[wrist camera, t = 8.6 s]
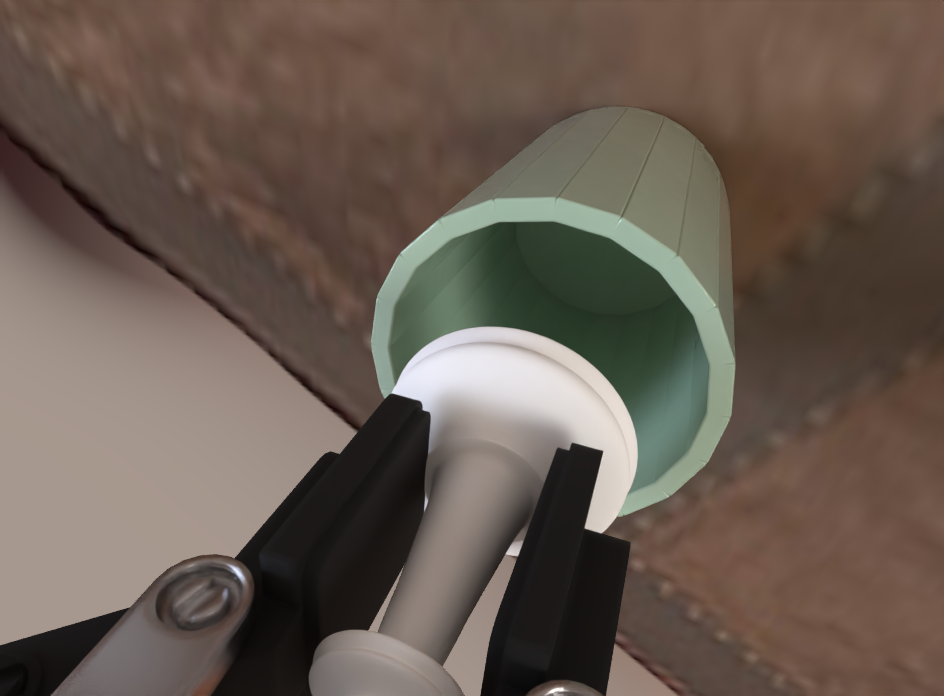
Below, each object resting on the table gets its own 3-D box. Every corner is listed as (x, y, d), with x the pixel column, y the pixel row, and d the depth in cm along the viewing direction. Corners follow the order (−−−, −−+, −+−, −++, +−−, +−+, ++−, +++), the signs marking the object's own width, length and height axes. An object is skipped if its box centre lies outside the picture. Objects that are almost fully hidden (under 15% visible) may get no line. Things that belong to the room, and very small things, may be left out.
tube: (690, 66, 21) (664, 133, 12) (754, 288, 24) (777, 499, 14) (475, 156, 25) (313, 266, 15) (550, 339, 28) (455, 535, 18)
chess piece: (578, 570, 14) (364, 1448, 6) (372, 471, 14) (-102, 1127, 6) (685, 396, 11) (582, 1585, 3) (427, 283, 12) (-284, 993, 3)
